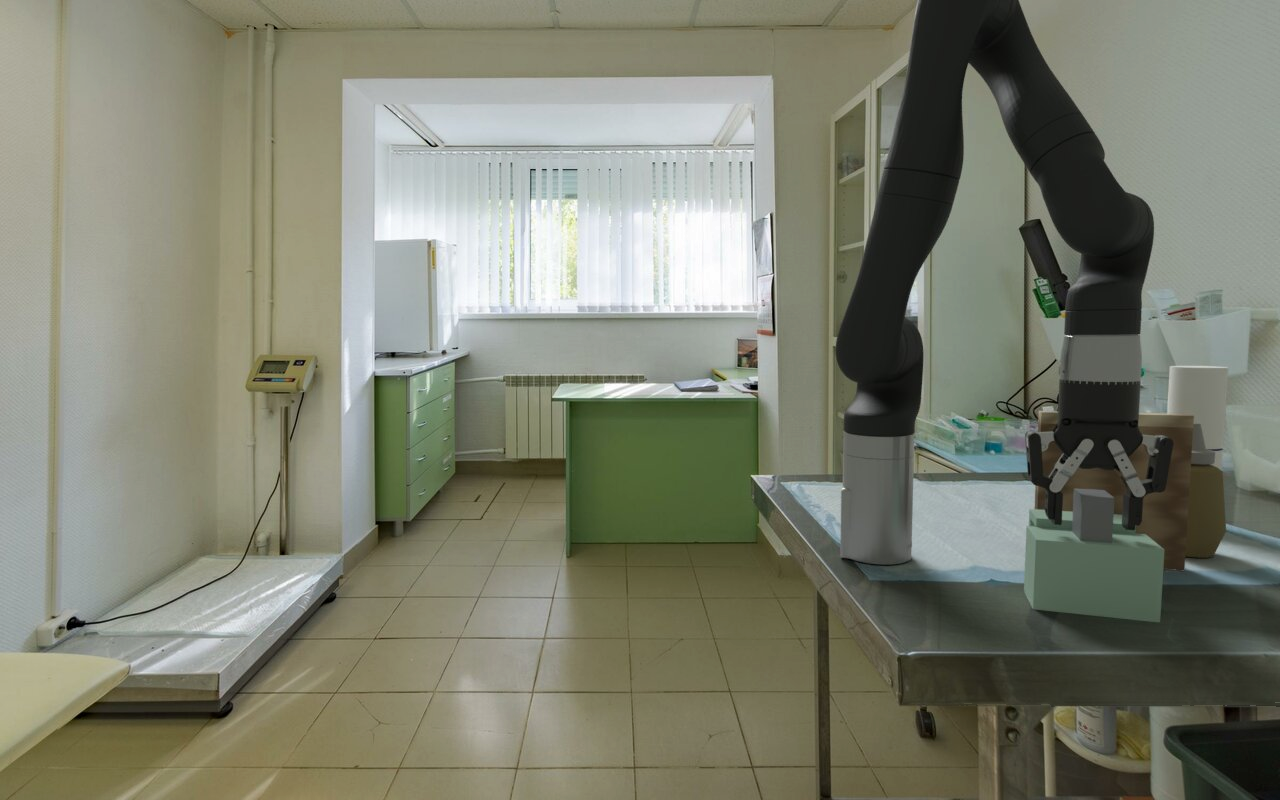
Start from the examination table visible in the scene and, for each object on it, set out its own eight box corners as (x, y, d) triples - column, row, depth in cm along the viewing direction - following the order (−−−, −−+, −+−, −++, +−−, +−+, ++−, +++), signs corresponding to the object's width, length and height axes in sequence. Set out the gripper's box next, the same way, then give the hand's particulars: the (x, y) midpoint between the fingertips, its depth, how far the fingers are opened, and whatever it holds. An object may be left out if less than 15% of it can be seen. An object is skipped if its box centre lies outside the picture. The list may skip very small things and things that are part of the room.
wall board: (1035, 558, 98) (1041, 412, 96) (1026, 544, 105) (1031, 406, 103) (1184, 570, 93) (1193, 415, 91) (1165, 554, 99) (1173, 410, 97)
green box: (1032, 609, 80) (1037, 495, 79) (1017, 578, 91) (1021, 476, 89) (1160, 623, 77) (1167, 502, 75) (1129, 588, 87) (1135, 482, 85)
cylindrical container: (1228, 533, 109) (1239, 368, 107) (1175, 531, 110) (1184, 368, 108) (1201, 521, 116) (1211, 365, 114) (1152, 519, 117) (1160, 365, 115)
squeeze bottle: (1220, 549, 101) (1228, 422, 100) (1228, 565, 94) (1238, 429, 93) (1150, 541, 106) (1157, 418, 104) (1153, 555, 99) (1160, 425, 97)
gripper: (1031, 378, 78) (1025, 529, 79) (1191, 379, 73) (1181, 541, 75) (1020, 374, 85) (1014, 513, 86) (1164, 375, 80) (1156, 522, 82)
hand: (1091, 525), depth 80 cm, fingers open, 6 cm apart
